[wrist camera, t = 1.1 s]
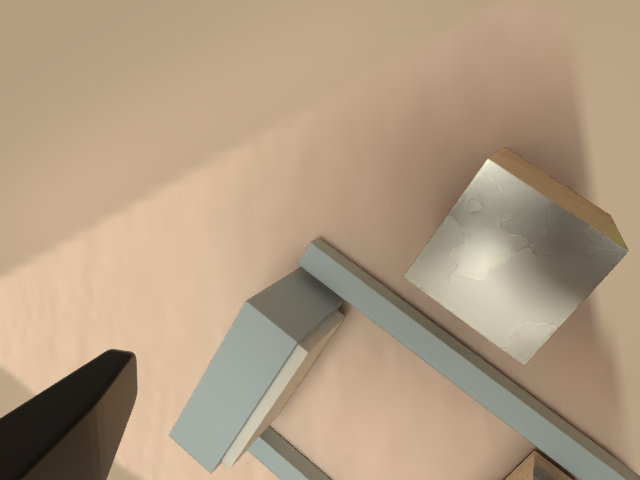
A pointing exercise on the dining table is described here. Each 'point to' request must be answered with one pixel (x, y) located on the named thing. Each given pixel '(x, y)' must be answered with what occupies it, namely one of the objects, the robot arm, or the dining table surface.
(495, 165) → the block
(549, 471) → the block
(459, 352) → the vise
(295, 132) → the dining table surface
